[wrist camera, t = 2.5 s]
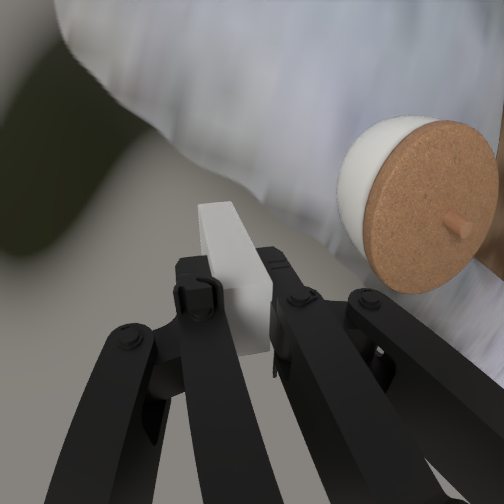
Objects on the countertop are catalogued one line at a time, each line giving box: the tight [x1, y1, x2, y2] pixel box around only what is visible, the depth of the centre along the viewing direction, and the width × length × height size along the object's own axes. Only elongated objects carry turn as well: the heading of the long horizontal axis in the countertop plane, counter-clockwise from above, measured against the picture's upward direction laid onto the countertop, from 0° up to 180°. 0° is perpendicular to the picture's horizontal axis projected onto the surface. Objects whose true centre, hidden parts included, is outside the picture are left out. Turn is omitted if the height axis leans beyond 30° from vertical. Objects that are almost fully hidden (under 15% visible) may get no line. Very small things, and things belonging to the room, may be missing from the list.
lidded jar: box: [336, 115, 499, 294], centre depth 18 cm, size 11×11×9 cm
